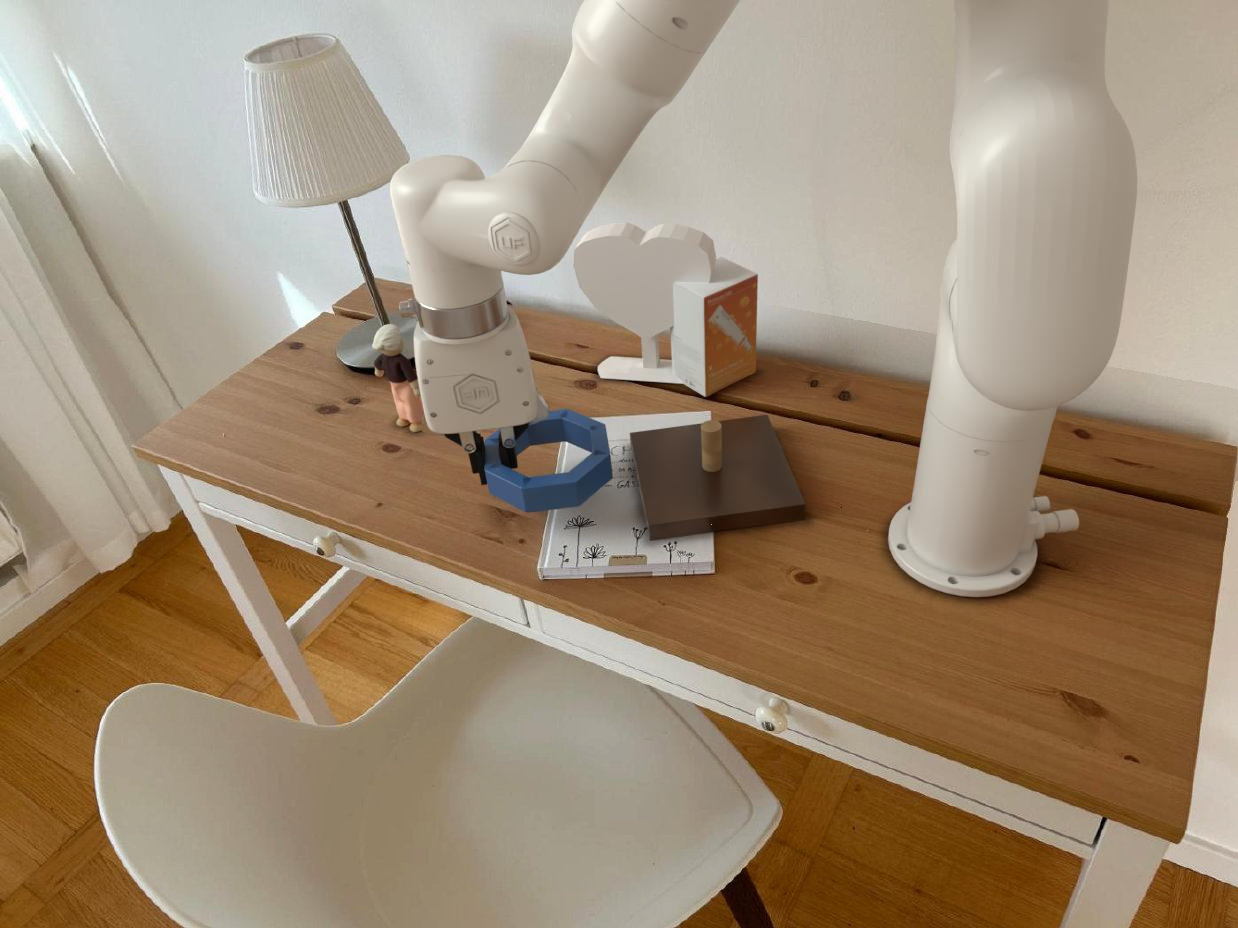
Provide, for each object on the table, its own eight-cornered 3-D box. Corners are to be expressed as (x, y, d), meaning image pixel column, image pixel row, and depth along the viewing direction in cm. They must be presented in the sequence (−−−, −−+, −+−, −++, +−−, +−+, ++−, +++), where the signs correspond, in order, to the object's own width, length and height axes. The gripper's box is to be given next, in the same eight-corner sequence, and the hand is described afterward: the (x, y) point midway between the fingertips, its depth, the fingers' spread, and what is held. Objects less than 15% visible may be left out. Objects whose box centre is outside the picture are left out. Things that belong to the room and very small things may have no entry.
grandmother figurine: (448, 419, 104) (424, 323, 97) (428, 437, 102) (402, 340, 94) (396, 406, 108) (369, 312, 100) (375, 423, 105) (346, 328, 97)
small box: (706, 399, 103) (703, 297, 95) (671, 377, 108) (665, 278, 100) (757, 373, 107) (759, 272, 99) (722, 352, 111) (720, 255, 103)
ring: (604, 427, 94) (601, 404, 92) (616, 501, 84) (614, 476, 83) (489, 442, 93) (484, 418, 92) (489, 518, 84) (484, 493, 82)
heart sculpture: (718, 362, 109) (716, 221, 98) (712, 385, 105) (709, 241, 94) (595, 355, 113) (580, 218, 102) (584, 377, 109) (567, 237, 98)
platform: (767, 429, 98) (768, 375, 94) (804, 519, 86) (808, 462, 82) (630, 447, 97) (625, 393, 93) (649, 540, 86) (645, 484, 81)
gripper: (366, 341, 74) (414, 509, 85) (556, 318, 74) (579, 488, 86) (375, 298, 80) (419, 461, 91) (551, 277, 80) (573, 442, 92)
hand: (496, 473), depth 88 cm, fingers closed on ring
